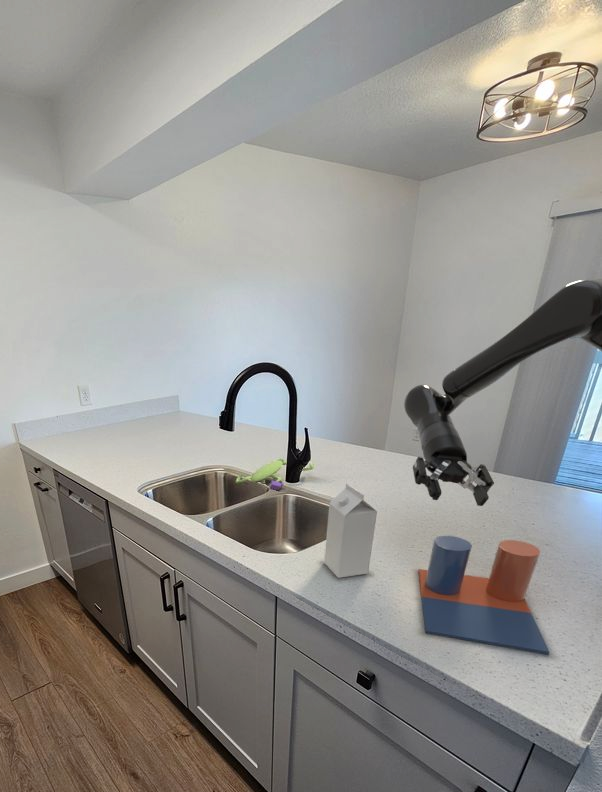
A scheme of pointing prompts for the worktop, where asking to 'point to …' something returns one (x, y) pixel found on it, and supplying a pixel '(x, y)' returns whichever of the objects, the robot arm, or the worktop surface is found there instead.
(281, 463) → the figurine
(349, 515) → the milk carton
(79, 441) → the worktop surface
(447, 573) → the blue crock
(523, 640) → the sorting mat
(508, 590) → the terracotta crock
